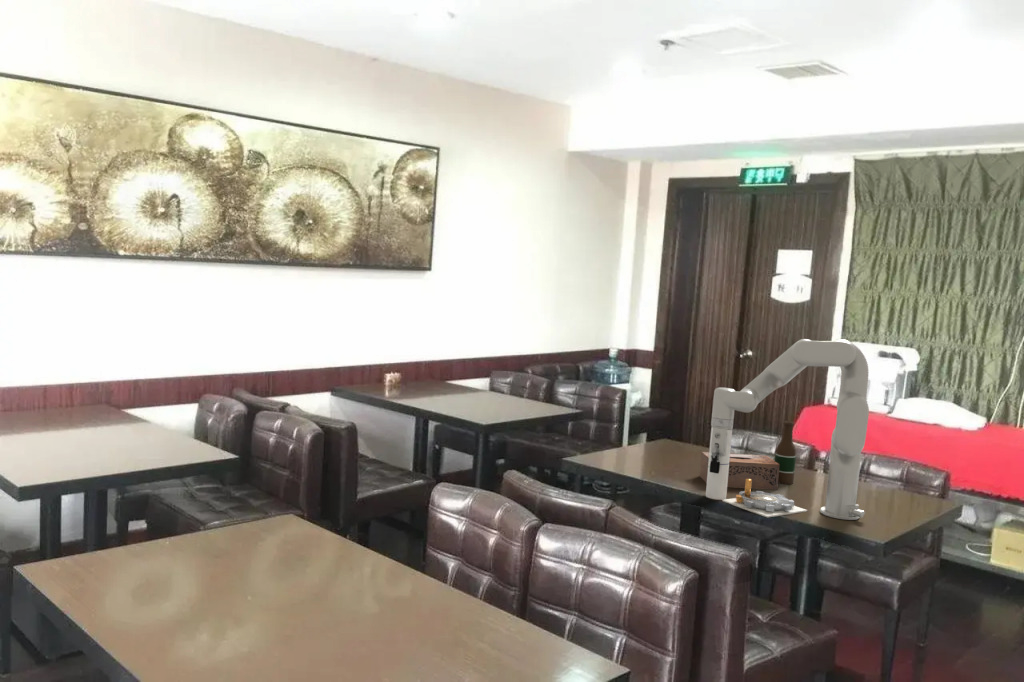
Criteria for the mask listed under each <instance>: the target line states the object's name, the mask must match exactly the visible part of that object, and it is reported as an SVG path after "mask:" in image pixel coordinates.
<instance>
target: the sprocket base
mask: <svg viewBox="0 0 1024 682" xmlns="http://www.w3.org/2000/svg"><path fill="white" fill-rule="evenodd" d="M722 502H724V503H727V504H729V505H732V506H735V507H737V508H739V509H743V510H745V511H748V512H751V513H753V514H756V515H759V516H762V517H765V518H772V517H774V518H775V517H779V516H785V515H794V514H799V513H805V512H808V509H805V508H802V507H799V506H796V505H794V507H791V510H790V511H784V510H779V511H774V512H773V511H766V510H763V509H758V508H754V507H753V508H749V507H746V506H745V504H743V503H742V502H737V501H736V497H733V498H726V499H723V500H722Z"/></svg>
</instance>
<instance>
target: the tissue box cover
mask: <svg viewBox="0 0 1024 682" xmlns="http://www.w3.org/2000/svg"><path fill="white" fill-rule="evenodd" d="M708 462H709V451H707V452H706V451H701V458H700V468H699V469H700V471H699V477H700V478H701V479H702V480H703V481H704V482H705V484H707V474H708ZM779 466H780V464H778V463H777V462H775V459H773V458H771V457H769V456H768V455H760V454H759V455H757V454H745V453H744V454H743V453H742V454H741V453H740V454H739V453H730V460H729V471H728V483H727V488H735V487H739V488H740V489H745V483H746V479H751V480H752V483H751V489H757V490H772V491H778V486H779V483H778V477H779Z"/></svg>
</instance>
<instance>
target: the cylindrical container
mask: <svg viewBox="0 0 1024 682" xmlns="http://www.w3.org/2000/svg"><path fill="white" fill-rule="evenodd" d="M713 428H714V427H712V426H711V429H710V439H709V441H710V442H709V451H708V452H709V462H708V474H707V483H706V486H705V487H706V488H705V497H706V498H708V499H711V500H719V501H720V500H724V499H727V494H728V493H727V492H728V487H727V483H728V471H729V460H730V454H731V449H732V448H731V446H732V438H733V437H732V435H733V428H732V429H728V430H727V446H726V455H725V456H724V457H723V456H722V455H721V456H720V460H719V462H720V468H719V473H712V472H710V462H711V455H712V454H711V442H712V434H713ZM716 453H720V452H719V448H718V450H717V452H716ZM717 458H718V456H717Z"/></svg>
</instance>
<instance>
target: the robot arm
mask: <svg viewBox="0 0 1024 682" xmlns="http://www.w3.org/2000/svg"><path fill="white" fill-rule="evenodd" d="M807 367H832V368H833V367H835V368H836V367H838V368H839V367H840V372H841V375H840V384H839V393H838V397H837V398H838V399H837V402H836V409H837V410H836V411H837V412H836V421H835V427H834V429H833V430H832V433H831V441H830V442H831V443H830V444H831V445H830V458H829V466H828V467H829V468H828V476H827V477H828V478H827V487H826V497H825V498H826V499H825V505H824V506H822V507H820V511H819V512H820V513H821V514H822V515H824V516H827V517H830V518H833V519H839V520H844V521H856V520H859V519H860V518H863V517H864V516H865V514H866V511H865V510H862V509H860V508H859V507H860V505H859V504H858V503H857V497H858V488H859V487H858V486H859V478H860V477H859V476H860V470H861V462H862V461H861V459H862V458H861V457H862V451H863V449H864V447H865V445H866V444H865V443H866V438H867V430H868V422H869V413H870V407H869V404H868V401H867V394H868V387H869V383H868V382H869V364H868V362H867V359H866V356H865V355H864V353H863V351H862V350H861V349H860V348H859V347H858V346H857V345H856V344H854V343H853V342H851V341H850V340H847V339H845V338H844V339H843V338H837V339H835V340H811V339H807V338H801V339H799V340H798V341H796V342H795V343H793V344H792V345H791V346H790V347H789V348H788V349H786V350H785V351H784V352H782V353H781V354H780V355H779V356H778V357H777V358H775V360H774V361H772V362H771V363H770V364H769V365H768V366H766V367H765V369H763V371H762V372H760V374H758V375H757V376H756V377H755V378H754V379H752V380H751V381H750V382H748V384H747V385H745V386H744V387H743V388H742V389H741V390H739V391H738V390H737V391H736V390H735V389H734V388H729V387H716V388H715V389H714V391H713V400H712V413H711V421H710V426H711V428H712V427H714V428H713V434H712V442H711V454H712V455H711V462H710V472H712V473H719V468H720V462H719V460H720V456H721V455H722V456H723V457H724V456H725V455H726V446H727V430H728V429H732V430H733V428H734V419H735V411H737V412H740V413H741V412H742V413H751V412H753V411H755V410H756V409H757V406H758V405H759V403H761V402H762V401H763V400H764V399H765V398H766V397H768V396H769V395H770V394H772V393H773V392H774V391H775V390H777V389H779V388H782V387H784V386H785V385H787V384H788V383H789V382H790V381H791V380H793V378H795V377H796V376H797V375H798V374H800V373H801V372H802V371H803V370H804V369H806V368H807ZM718 448H719V452H720V453H716V452H717V450H718ZM717 456H718V458H717Z"/></svg>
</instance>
